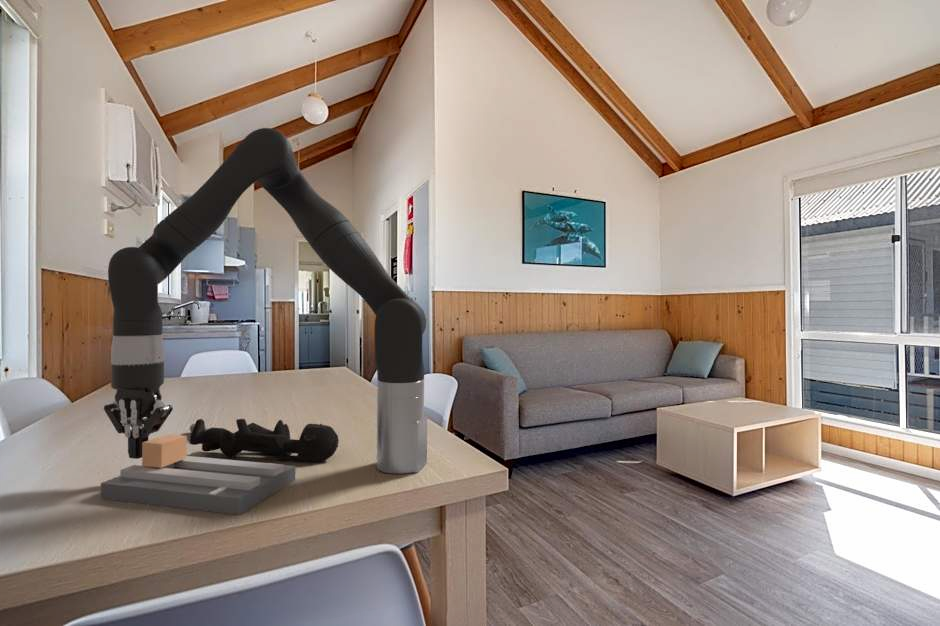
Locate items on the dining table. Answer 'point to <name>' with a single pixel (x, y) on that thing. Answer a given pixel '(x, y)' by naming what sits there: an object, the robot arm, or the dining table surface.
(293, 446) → the figurine
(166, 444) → the block
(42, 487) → the dining table surface
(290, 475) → the twin slider track
